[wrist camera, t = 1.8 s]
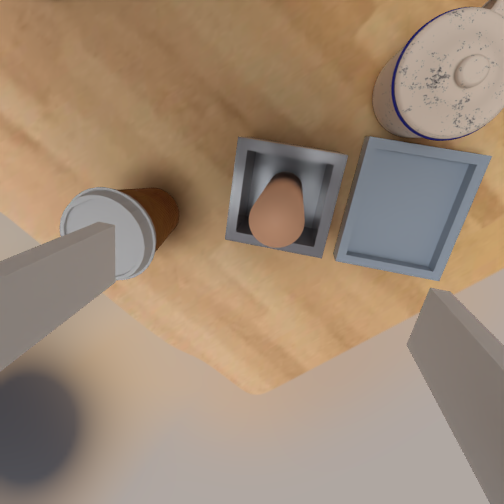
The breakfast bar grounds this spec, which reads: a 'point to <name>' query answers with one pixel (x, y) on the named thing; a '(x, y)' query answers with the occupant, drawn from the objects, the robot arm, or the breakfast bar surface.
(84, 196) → the disposable coffee cup
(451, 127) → the teacup with lid
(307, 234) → the open square box
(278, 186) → the dowel
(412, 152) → the tray
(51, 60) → the breakfast bar surface
